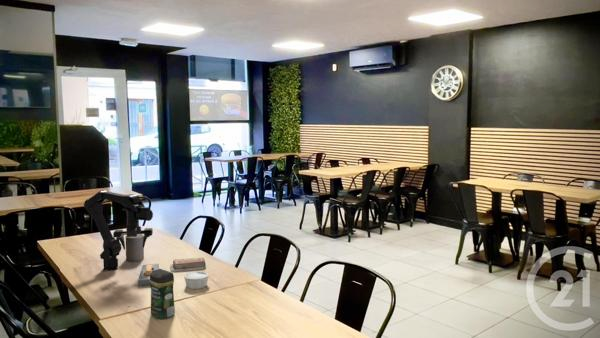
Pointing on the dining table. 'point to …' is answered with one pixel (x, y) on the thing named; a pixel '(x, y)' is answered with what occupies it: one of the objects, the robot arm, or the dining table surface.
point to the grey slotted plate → (145, 279)
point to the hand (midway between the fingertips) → (133, 249)
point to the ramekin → (196, 280)
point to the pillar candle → (134, 248)
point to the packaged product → (188, 264)
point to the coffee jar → (162, 294)
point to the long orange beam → (148, 269)
